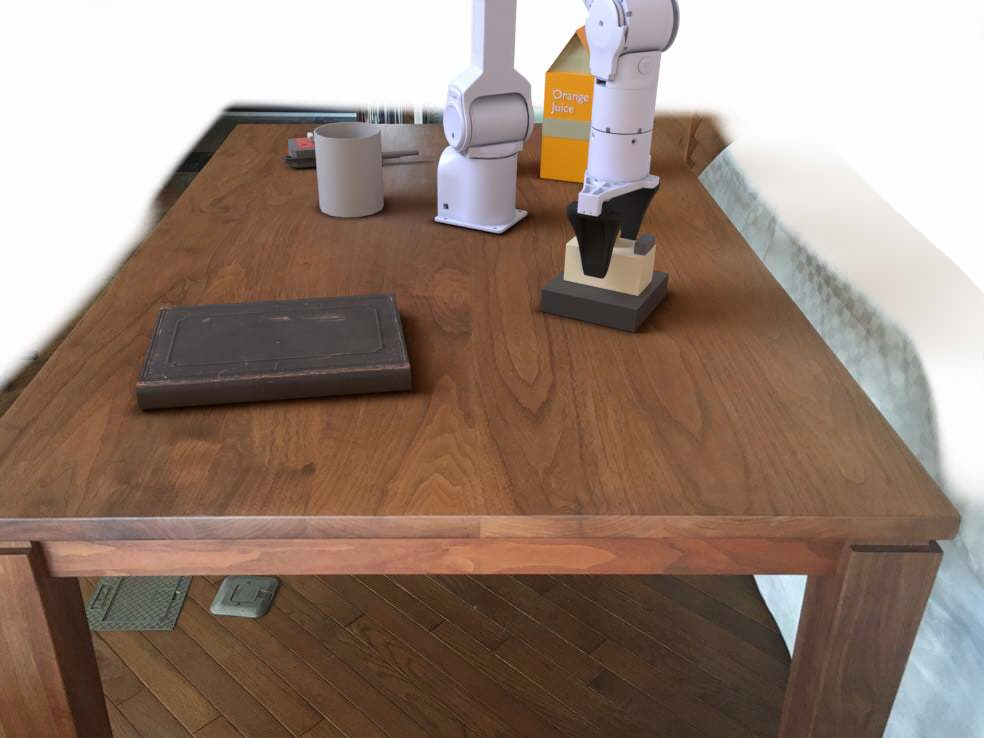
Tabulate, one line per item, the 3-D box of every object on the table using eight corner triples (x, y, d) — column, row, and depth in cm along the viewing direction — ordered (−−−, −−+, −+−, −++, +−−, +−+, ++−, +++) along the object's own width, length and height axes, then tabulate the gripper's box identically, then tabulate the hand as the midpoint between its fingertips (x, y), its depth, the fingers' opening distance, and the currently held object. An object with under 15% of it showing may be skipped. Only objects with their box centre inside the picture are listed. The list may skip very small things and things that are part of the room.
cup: (308, 212, 117) (301, 135, 112) (338, 193, 124) (333, 119, 119) (366, 220, 115) (362, 141, 109) (393, 200, 121) (391, 125, 116)
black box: (540, 311, 92) (541, 288, 91) (577, 276, 99) (579, 255, 98) (634, 332, 88) (637, 309, 86) (666, 295, 95) (669, 273, 94)
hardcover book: (164, 328, 89) (160, 307, 88) (395, 313, 92) (394, 292, 90) (139, 413, 76) (134, 389, 74) (411, 393, 78) (411, 370, 77)
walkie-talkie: (286, 174, 131) (420, 163, 135) (283, 143, 129) (419, 134, 133) (281, 157, 139) (408, 147, 143) (278, 128, 136) (407, 119, 140)
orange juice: (539, 177, 129) (546, 28, 119) (556, 160, 136) (565, 18, 126) (592, 184, 127) (604, 32, 116) (607, 166, 134) (620, 22, 123)
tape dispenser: (563, 280, 92) (567, 218, 89) (579, 266, 96) (583, 206, 92) (638, 296, 89) (645, 232, 86) (651, 281, 92) (659, 219, 89)
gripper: (636, 151, 77) (621, 296, 84) (686, 114, 88) (668, 246, 95) (560, 141, 80) (551, 282, 87) (617, 106, 91) (605, 234, 98)
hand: (608, 262), depth 91 cm, fingers open, 7 cm apart
